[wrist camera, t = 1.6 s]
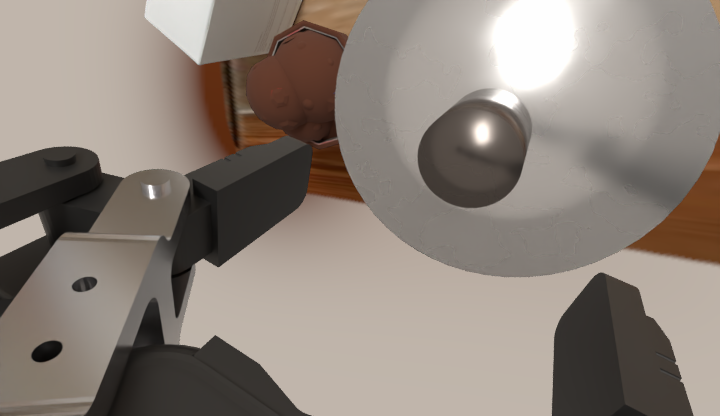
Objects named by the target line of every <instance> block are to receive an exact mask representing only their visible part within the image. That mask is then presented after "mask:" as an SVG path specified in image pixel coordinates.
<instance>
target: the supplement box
mask: <svg viewBox="0 0 720 416" xmlns="http://www.w3.org/2000/svg"><path fill="white" fill-rule="evenodd" d="M301 2H302V0H146V8H145V19H147V20H148V21H149V22H150V23H151V24H152V25H154V26H155V27H156V28H157V29H158V30H159V31H160V32H162V33H163V34H164V35H165V36H166V37H167V38H169V39H170V40H171V41H172V42H173V43H174V44H176V45H177V46H178V47H179V48H180V49H181V50H182V51H183V52H185V53H186V54H187V55H188V56H189V57H190V58H191V59H192V60H193V61H195V62H196V63H197V64H198V65H202V64H207V63H213V62H219V61H225V60H231V59H238V58H244V57H250V56H256V55H262V54H268V53H269V50H270V47H271V44H272V42H273V39H274V36H276V35H278V34H280V33H281V32H283V31H285V30H287V29H289V28H290V27H292V25H293V23H294V20H295V18H296V15H297V12H298V10H299V7H300V5H301Z"/></svg>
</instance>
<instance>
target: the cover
mask: <svg viewBox="0 0 720 416" xmlns="http://www.w3.org/2000/svg"><path fill="white" fill-rule="evenodd" d="M335 121H336V130H337V137H338V141H339V145H340V150H341V154H342V156H343V159H344V162H345V165H346V168H347V171H348V173H349V175H350V177H351V179H352V181H353V183H354V185H355V187H356V189H357V190H358V192H359V194H360V195H361V197H362V198H363V200H364V202H365V203H366V204H367V205H368V207H369V208H370V209H371V211H372V212H373V213H374V214H375V216H376V217H377V218H378V219H379V220H380V221H381V222H382V223H383V224H384V225H385V226H386V227H387V228H388V229H389V230H390V231H392V232H393V233H394V234H395V235H396V236H398V237H399V238H400V239H401V240H402V241H404V242H405V243H407V244H408V245H410V246H411V247H413V248H414V249H416V250H417V251H420V252H421V253H423V254H425V255H427V256H428V257H430V258H432V259H435V260H437V261H439V262H442V263H444V264H447V265H449V266H452V267H456V268H459V269H462V270H465V271H469V272H474V273H479V274H484V275H491V276H501V277H533V276H541V275H550V274H555V273H560V272H564V271H569V270H573V269H577V268H579V267H583V266H586V265H589V264H592V263H595V262H597V261H599V260H602V259H604V258H606V257H608V256H610V255H612V254H615V253H617V252H619V251H620V250H622V249H624V248H625V247H627V246H629V245H630V244H632V243H634V242H635V241H637V240H639V239H640V238H641V237H643V236H644V235H645V234H647V233H648V232H649V231H650V230H652V229H653V228H654V227H655V226H657V225H658V224H659V223H661V222H662V221H663V220H664V219H665V218H666V217H667V216H668V215H669V214H670V213H671V212H672V211H673V210H674V209H675V208H676V206H677V205H678V204H679V203H680V202H681V201H682V200H683V199H684V197H685V196H686V195H687V193H688V192H689V191H690V189H691V188H692V187H693V185H694V184H695V183H696V181H697V180H698V178H699V176H700V175H701V173H702V171H703V169H704V167H705V165H706V164H707V162H708V160H709V158H710V156H711V154H712V152H713V149H714V147H715V144H716V141H717V138H718V135H719V133H720V25H719V23H718V20H717V17H716V15H715V12H714V10H713V7H712V4H711V2H710V1H709V0H368V2H367V4H366V5H365V7H364V8H363V10H362V11H361V13H360V14H359V16H358V18H357V20H356V22H355V24H354V26H353V28H352V30H351V32H350V34H349V37H348V40H347V43H346V46H345V48H344V51H343V54H342V57H341V62H340V66H339V70H338V75H337V82H336V91H335Z"/></svg>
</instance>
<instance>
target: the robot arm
mask: <svg viewBox="0 0 720 416" xmlns="http://www.w3.org/2000/svg"><path fill="white" fill-rule="evenodd" d="M312 153H313V152H312V147H311V146H310V145H309V144H306V143H304V142H302V141H300V140H297V139H295V138H293V137H290V136H284V137H282V138H280V139H278V140H276V141H273V142H271V143H269V144H263V145H257V146H250V147H248V148H245V149H243V150H241V151H238V152H236V154H232V155H229V156H227V157H225V159H220V160H218V161H216V162H213V163H211V164H209V165H206V166H204V167H202V168H200V169H197V170H196V171H193V172H190V173H188V174H186V175H182V174H180V173H178V172H175V171H171V170H164V169H151V170H144V171H139V172H136V173H133V174H131V175H129V176H127V177H126V178H122V177H118V176H114V175H109V174H105V173H102V172H101V167H100V163H99V158H98V156H97V155H96V154H95V153H94V152H92V151H90V150H88V149H84V148H79V147H53V148H47V149H42V150H39V151H35V152H32V153H29V154H25V155H22V156H19V157H15V158H12V159H9V160H5V161H2V162H0V229H2V228H4V227H7V226H9V225H11V224H14V223H16V222H18V221H21V220H23V219H25V218H28V217H30V216H33V215H35V214H37V213H39V216H40V219H41V222H42V224H43V227H44V230H45V233H46V236H44V237H41V238H39V239H37V240H35V241H33V242H31V243H29V244H27V245H25V246H23V247H20V248H18V249H16V250H14V251H12V252H10V253H8V254H6V255H4V256H1V257H0V416H311V415H308V414H305V413H303V412H301V411H300V410H298V409H297V408H296V407H295V405H294V404H293V403H292V402H291V401H290V400H289V398H288V397H287V396H286V395H285V394H284V393H283V391H282V390H281V389H280V388H279V387H278V385H277V384H276V383H275V382H274V381H273V380H272V378H271V377H270V376H269V375H268V374H267V372H265V370H264V369H263V368H262V367H261V365H260V364H258V363H257V362H255V361H254V360H252V359H251V358H249V357H248V356H246V355H245V354H243V353H242V352H240V351H239V350H237V349H235V348H234V347H232V346H231V345H229V344H228V343H226V342H225V341H223V340H222V339H220V338H219V337H217V336H216V335H215V336H214V337H213V338H212V339H211V340H209V342H207V343H206V344H205V345H204V346H203V347H202V348H201V349H200V348H197V347H191V346H186V345H179V341H180V333H181V327H182V323H183V319H184V315H185V311H186V307H187V303H188V299H189V295H190V291H191V287H192V283H193V279H194V275H195V263H197V262H198V261H200V260H201V259H203V258H204V259H205V260H207V261H208V262H210V263H212V264H213V265H215V266H217V267H220V266H221V265H222V264H224V263H225V262H226V261H227V260H229V259H230V258H232V257H233V256H234V255H236V254H237V253H238V252H240V251H241V250H242V249H244V248H245V247H246V246H247V245H249V244H250V243H252V242H253V241H255V240H256V239H257V238H259V237H260V236H261V235H262V234H264V233H265V232H266V231H268V230H269V229H270V228H272V227H273V226H275V225H276V224H277V223H279V222H280V221H281V220H283V219H284V218H285V217H287V216H288V215H289V214H291V213H292V212H293V211H295V210H296V209H297V208H298V207H299V206H300V205H301V203H302V202H303V200H304V198H305V196H306V193H307V187H308V181H309V174H310V167H311V161H312ZM675 362H676V359H675V356H674V353H673V350H672V346H671V343H670V341H669V339H668V338H667V336H666V335H665V334H664V332H663V331H662V330H661V328H660V327H659V325H658V324H657V323H656V321H655V320H654V319H653V318H651V317H648V316H646V314H645V311H644V307H643V303H642V299H641V296H640V292H639V290H638V288H636V287H634V286H632V285H630V284H628V283H625V282H623V281H621V280H618V279H616V278H614V277H611V276H609V275H607V274H604V273H598V274H597V275H595V276H594V277H593V278H592V280H591V281H590V282H589V283H588V284H587V286H586V287H585V288H584V289H583V291H582V292H581V293H580V294H579V296H578V297H577V298H576V299H575V300H574V302H573V303H572V304H571V305H570V307H569V308H568V309H567V311H566V312H565V313H564V314H563V316H562V317H561V319H560V321H559V323H558V325H557V328H556V331H555V337H554V365H553V398H552V416H693V413H692V409H691V406H690V403H689V400H688V397H687V394H686V391H685V387H684V384H683V383H682V382H680V380H681V375H680V372H679V368H678V365H676V364H675Z"/></svg>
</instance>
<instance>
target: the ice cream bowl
mask: <svg viewBox="0 0 720 416" xmlns="http://www.w3.org/2000/svg"><path fill="white" fill-rule="evenodd" d="M347 40H348V37H347V35H346V34H343V33H340V32H337V31H334V30H331V29H328V28H325V27H322V26H319V25H316V24H313V23H310V22H307V21H304V20H303V21H301V22H299V23H298V24H296V25H294V26H292V27H290V28H289V29H287V30H285V31H283V32H281V33H280V34H278V35H276V36H274V39H273V42H272V44H271V47H270V50H269V53H268V56H267V58H265V59H264V60H262V61H260V62H259V63H256V64H255V65H254V66H253V67H252V68H251V70H250V71H249V73H248V75H247V83H246V96H247V99H248V101H249V104H250V106H251V108H252V110H253V111H254V112H255V114H256V115H257V116H258V118H259V119H260V120H262V121H263V122H265V123H266V124H267V125H269V126H271V127H273V128H275V129H282V130H283V131H284V132H285V133H286V134H288V135H289V136H290V137H293V138H295V139H297V140H300V141H302V142H304V143H306V144H309V145H310V146H312V147H315V148H317V149H323V148H326V147H330V146H333V145H337V144H339V141H338V137H337V130H336V121H335V91H336V82H337V75H338V70H339V66H340V62H341V57H342V54H343V51H344V48H345V46H346V43H347Z"/></svg>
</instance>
